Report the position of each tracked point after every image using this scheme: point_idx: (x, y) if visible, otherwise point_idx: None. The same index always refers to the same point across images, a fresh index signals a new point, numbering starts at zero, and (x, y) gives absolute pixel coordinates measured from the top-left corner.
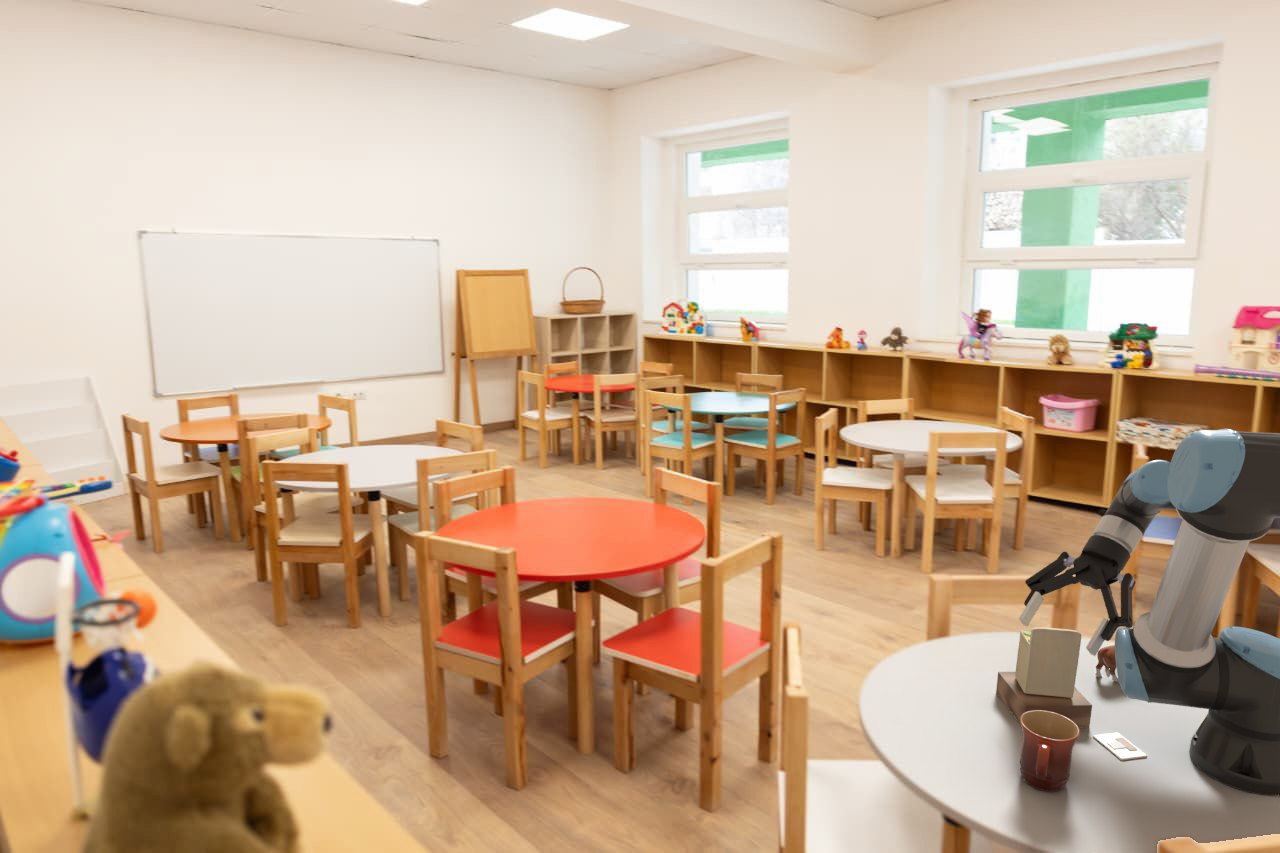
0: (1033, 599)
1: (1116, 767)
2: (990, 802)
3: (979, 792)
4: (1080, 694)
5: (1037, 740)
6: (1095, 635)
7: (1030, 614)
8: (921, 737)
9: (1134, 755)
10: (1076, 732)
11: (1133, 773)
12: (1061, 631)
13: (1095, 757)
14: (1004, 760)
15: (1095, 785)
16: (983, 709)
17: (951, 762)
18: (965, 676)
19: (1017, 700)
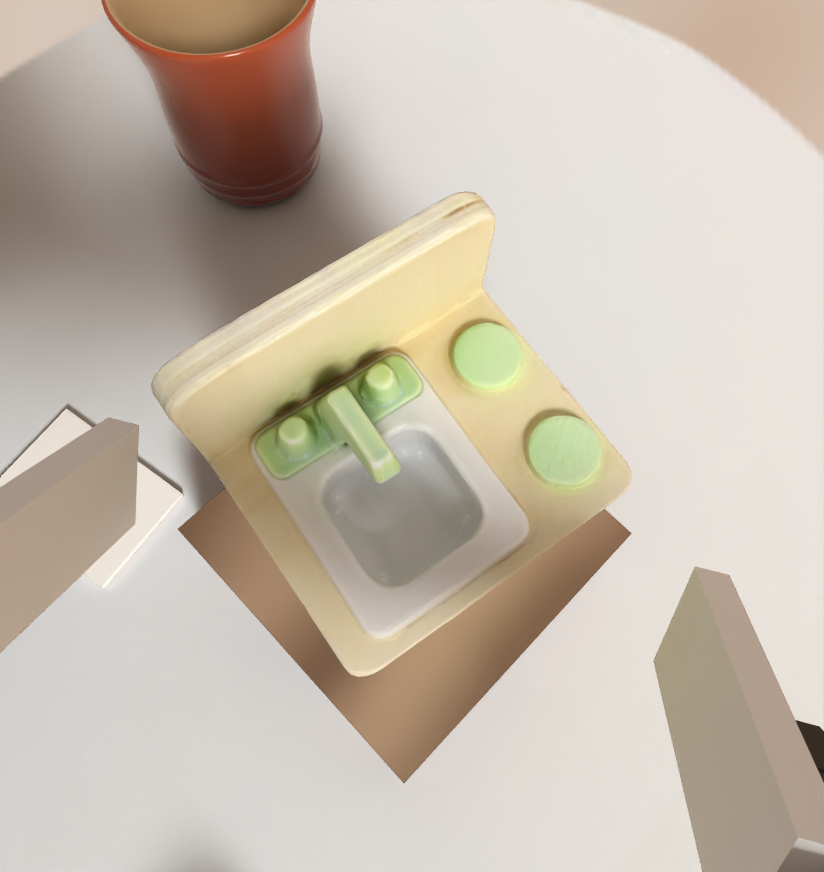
0: (772, 736)
1: (78, 360)
2: (338, 10)
3: (375, 25)
4: (246, 594)
5: None
6: (47, 475)
7: (691, 685)
8: (620, 131)
9: (26, 461)
10: (115, 5)
11: (24, 363)
12: (290, 289)
13: (149, 371)
14: (381, 178)
15: (122, 229)
16: None
17: (491, 84)
18: (765, 605)
19: None
